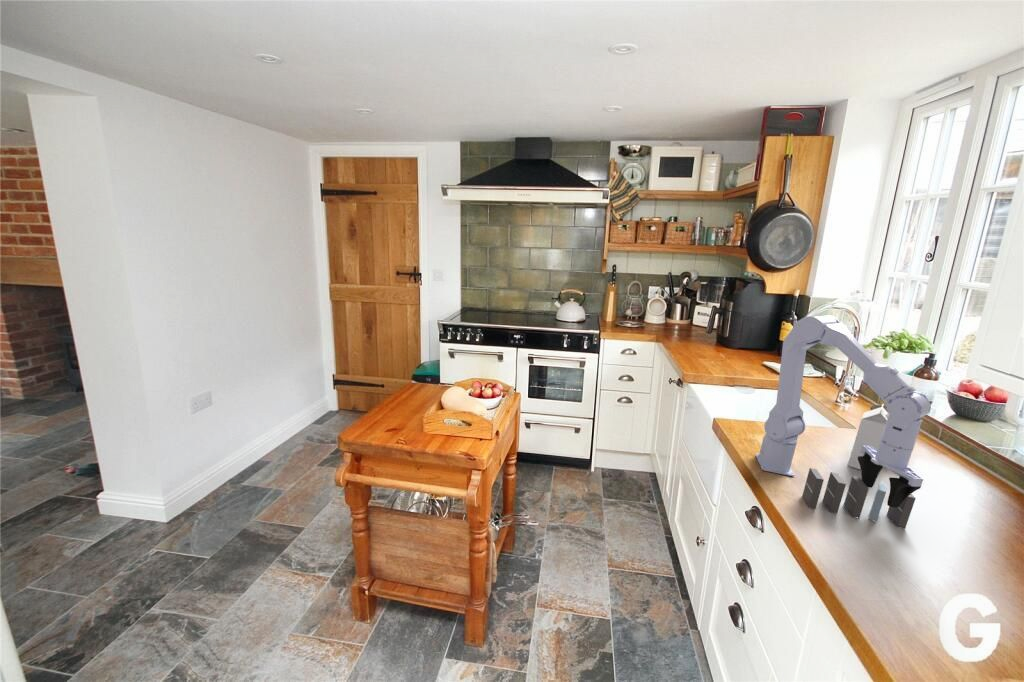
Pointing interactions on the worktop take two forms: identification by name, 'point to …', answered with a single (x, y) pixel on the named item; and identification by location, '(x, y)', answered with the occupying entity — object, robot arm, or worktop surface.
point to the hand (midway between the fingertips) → (879, 496)
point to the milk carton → (868, 433)
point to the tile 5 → (902, 512)
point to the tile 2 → (834, 492)
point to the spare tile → (878, 501)
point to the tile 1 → (812, 488)
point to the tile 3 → (856, 496)
